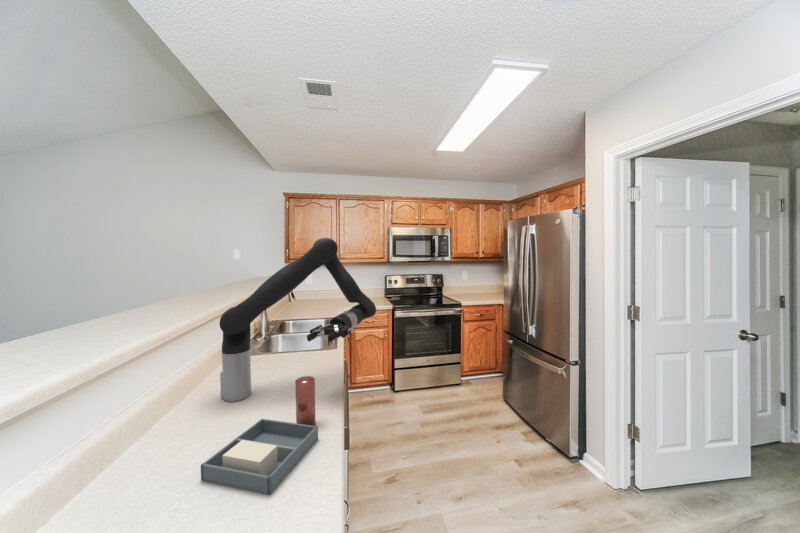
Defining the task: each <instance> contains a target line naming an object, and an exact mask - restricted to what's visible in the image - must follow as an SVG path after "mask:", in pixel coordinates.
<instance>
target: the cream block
mask: <svg viewBox="0 0 800 533" xmlns="http://www.w3.org/2000/svg"><path fill="white" fill-rule="evenodd" d="M222 459H223V467H225V468H230V469H236V470H241V471H246V472H251V473H257V474H262V475H267V476H269V475H270V474H271V473H272V472H273V470H274V469H275V468H276V467H277V466H278V458H277V445H271V444H264V443H258V442H252V441H246V440H241V441H240V442H239V443H238V444H236V445H235V446H234V447H233V448H231V449H230V450H229V451H227V452H226V453H225V454H224V455H222Z"/></svg>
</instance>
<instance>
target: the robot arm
mask: <svg viewBox="0 0 800 533" xmlns="http://www.w3.org/2000/svg"><path fill="white" fill-rule="evenodd" d="M338 249H339V248H338V244H337V242H336V241H335V240H334V239H332V238H328V237H322V238H319V239H317V240H316V241H314V242H313V245H312V247H311V248H310V249H309V250H308V251H307V252H305V253H304V254H303V255H302V256H300V257H299V258H297V259H295V260H294V261H292V262H289V263H288V264H286V265H285V266H283V267H282V268H280V269H279V270H277V271H276V272H275V273H274V274H272V275H271V276H270V277H269V278H267V279H266V280H265V281H264V282H263V283H262V284H261V285H260V286H259V287H258V288H257V289H256V290H255V291H254V292H253V293H252V294H251V295H250V296H249V297H247V298H246V299H244V300H243V301H242V302H240V303H238V305H235V306H233V307H232V306H231V307H229V308H228V309H227V310H225V312H223V313H222V315H221V316H220V318H219V328H220V330H221V331H222V343H221V361H222V362H221V363H222V371H221V372H220V374H219V376H220V378H219V380H220V398H221V400H223V401H225V402H231V403H233V402H239V401H242V400H245V399H247V398H249V397H250V396H251V395H252V369H251V367H252V366H251V365H252V364H251V362H252V361H251V323H253V322H254V320H256V319H257V318H258V317H259V316H260V315H261V314H262V313H263V312H265V311H267V309H269V308H271V307H272V306H274V305H275V304H276V303H278V302H279V301H281V300H282V299H284V297H286V296H287V295H289V294H290V293H291V292H293V291H294V290H295V289H296V288H297V287H299V286H300V284H302V283H303V282H304V281H305V280H306V279H307V278H308V277H309V276H310V275H311V274H312V273H314V272H315V271H316V270H318V269H319V268H320V267H322V266H324V267H325V268H326V270H327V271H328V272H329V274H330V275H331V276H332V278H333V279H334V281H335V283H336V284H337V286H338V288H339V289H340V291H341V293H342V294H343V296H344V297H345V298H346V300H347V301H348V302H349V303H351V304H354V303H356V304H355V305H354V306H352V307H351V308H349V309H347V310H346V311H343V312H342V313H340V314H338V315H336V316H335V317H333V318H331V319H330V320H329V323H328V324H326V325H324V326H322V324H319V325H317V326H315V327H313V328H312V329H309V333H308V334H307V335H306V340H307V342H311V341H313V340H314V339H317V338H319V337H321V338H323V337H327V341H328V343H332V342H333V341H334V340H336V339H340V337H341V338H343V339H344V338H345V337H347V336H348V335H350V334H351V333H352V330H353V329H354V328H355V327H356V326H359V324H361V323H362V321H363V320H367V319H369V318H372V317H374V316H375V315H376V312H377V307H376V304H375V302H374V301H372V300H371V299H370V298H369V297H368V296H367V295H366V294H365V293H364V292H363V291H362V290H361V288H360V287H359V285H358V284H357V282H356V280H355V279H354V278H353V277H352V275H351V274H350V273H349V271H348V270H347V269H346V267H344V265H343V263H342V262H341V261H340V259H339V257H338V255H337V254H338ZM323 333H324V334H323Z"/></svg>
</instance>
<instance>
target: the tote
mask: <svg viewBox="0 0 800 533" xmlns="http://www.w3.org/2000/svg"><path fill="white" fill-rule="evenodd" d="M241 440H246V441H252V442H258V443H264V444H271V445H277V458H278V466H277V467H276V468H275V469H274V470H273V472H272V473H271V474H270V475H269V476H267V475H262V474H257V473H251V472H246V471H241V470H236V469H230V468H225V467H223V459H222V455H224V454H225V453H226V452H227V451H229V450H230V449H231V448H233V447H234V446H235V445H236V444H238V443H239V442H240V441H241ZM318 440H319V427H318V425H317V426H316V425H315V426H311V425H304V424H297V423H296V422H288V421H281V420H274V419H267V418H261V419H259V420H258V421H256V422H255V423H254V424H253V425H252V426H249V428H247V429H246V430H244V432H242V433H241V434H240V435H238V436H237V437H236V438H234V439H233V440H232V441H230V442H229V443H227V444H226V445H225V446H224V447H223V448H221V449H220V450H218V451H217V452H216V453H215V454H213V455H212V456H210V457H209V458H208V459H207V460H205V461H204V462H203V463H201V464H200V480H201V481H202V482H207V483H212V484H216V485H221V486H226V487H232V488H235V489H241V490H244V491H245V490H246V491H250V492H254V493H260V494H265V495H269V496H270V495H272V493H274V491H275V490H276V488H277V487H278V486H279V485H280V484H281V483H282V481H283V480H284V479H285V478H286V477H287V476H288V475H289V473H290V472H291V471H292V470H293V468H295V467H296V465H297V464H298V463H299V462H300V461H301V459H302V458H304V456H305V455H306V454H307V452H309V450H310V449H311V448H312V447H313V446H314V445H315V443H316V442H317V441H318Z"/></svg>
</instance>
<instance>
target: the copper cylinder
mask: <svg viewBox="0 0 800 533" xmlns="http://www.w3.org/2000/svg"><path fill="white" fill-rule="evenodd" d="M315 380H316V378H315V377H314V376H311V375H309V376H308V375H305V376H300V377H298V378H296V379H295V383H294V384H295V421H296V422H295V423H297V424H304V425H311V426H316V381H315Z"/></svg>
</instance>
